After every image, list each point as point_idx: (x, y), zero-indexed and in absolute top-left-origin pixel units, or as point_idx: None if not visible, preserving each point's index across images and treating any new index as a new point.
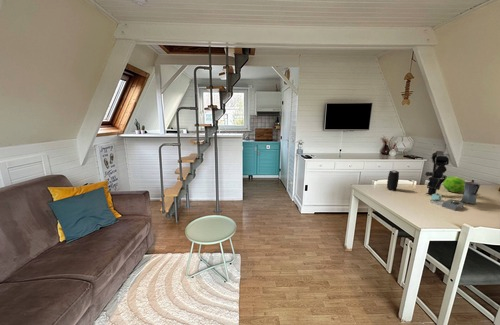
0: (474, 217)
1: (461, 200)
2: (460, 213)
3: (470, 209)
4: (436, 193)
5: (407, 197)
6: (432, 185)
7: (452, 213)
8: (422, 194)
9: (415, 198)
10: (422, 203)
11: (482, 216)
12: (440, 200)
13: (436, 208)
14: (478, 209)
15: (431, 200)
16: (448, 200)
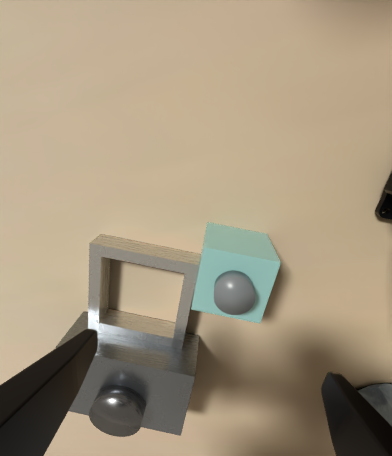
0: (65, 426)
1: (373, 389)
2: None
3: (196, 417)
4: (231, 290)
5: (39, 16)
6: (27, 370)
7: (13, 361)
8: (352, 103)
9: (94, 101)
10: (8, 198)
11: (121, 447)
12: (180, 299)
13: (4, 292)
14: (239, 441)
15: (93, 251)
16: (134, 370)
